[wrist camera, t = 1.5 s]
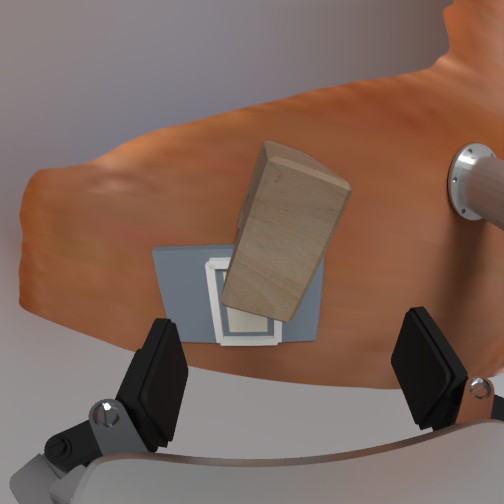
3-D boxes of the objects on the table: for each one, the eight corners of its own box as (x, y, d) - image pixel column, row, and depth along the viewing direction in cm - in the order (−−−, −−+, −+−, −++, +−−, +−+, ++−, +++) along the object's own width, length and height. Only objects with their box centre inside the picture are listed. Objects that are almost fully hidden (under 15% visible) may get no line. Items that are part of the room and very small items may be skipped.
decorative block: (277, 230, 39) (289, 327, 21) (236, 216, 38) (215, 306, 20) (307, 153, 34) (358, 188, 16) (265, 138, 34) (270, 152, 15)
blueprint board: (322, 241, 39) (326, 249, 37) (314, 334, 46) (316, 344, 44) (155, 246, 40) (149, 254, 38) (175, 335, 48) (172, 345, 45)
